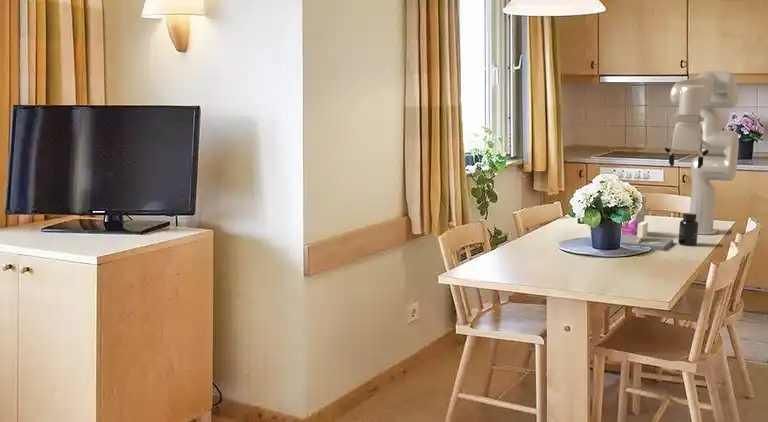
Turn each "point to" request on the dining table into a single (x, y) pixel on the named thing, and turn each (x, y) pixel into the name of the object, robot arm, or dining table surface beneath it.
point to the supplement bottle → (688, 230)
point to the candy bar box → (634, 221)
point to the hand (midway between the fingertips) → (685, 166)
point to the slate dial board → (646, 242)
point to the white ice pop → (642, 230)
